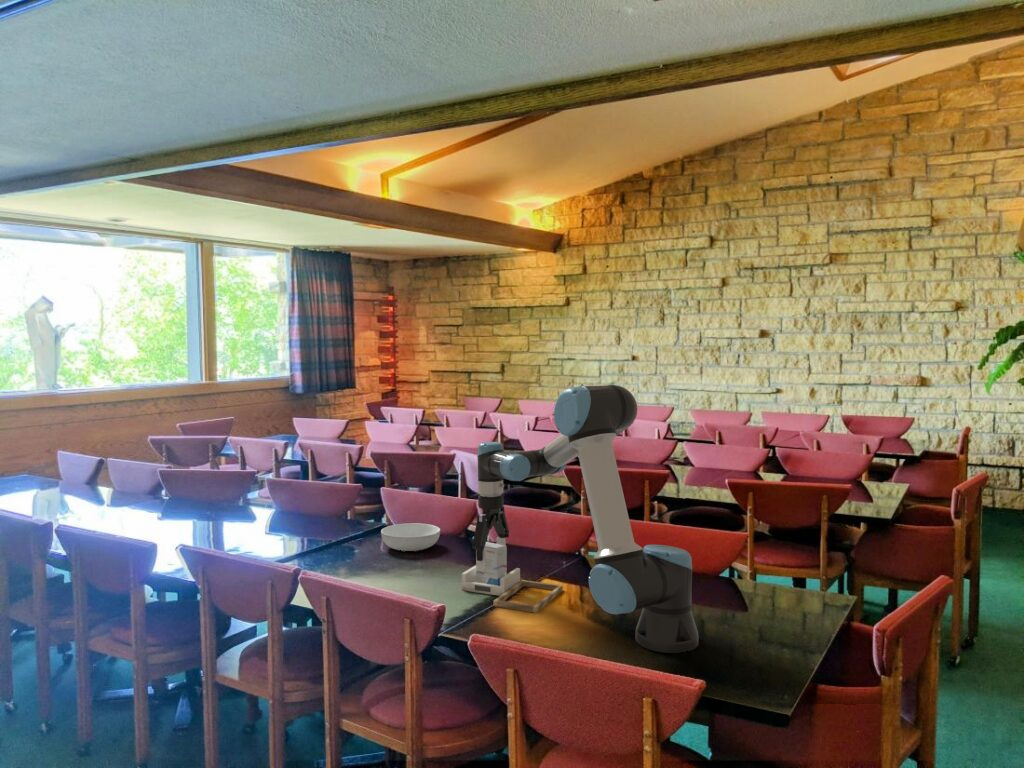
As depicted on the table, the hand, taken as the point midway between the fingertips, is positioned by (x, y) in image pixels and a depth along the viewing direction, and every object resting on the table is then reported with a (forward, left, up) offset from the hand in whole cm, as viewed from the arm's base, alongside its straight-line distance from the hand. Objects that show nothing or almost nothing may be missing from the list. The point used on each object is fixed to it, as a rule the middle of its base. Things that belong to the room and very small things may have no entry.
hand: (491, 565), depth 223 cm
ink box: (0, 0, -6) cm, 6 cm away
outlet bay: (0, 0, -7) cm, 7 cm away
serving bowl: (+27, +45, -7) cm, 53 cm away
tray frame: (-4, -14, -7) cm, 16 cm away
